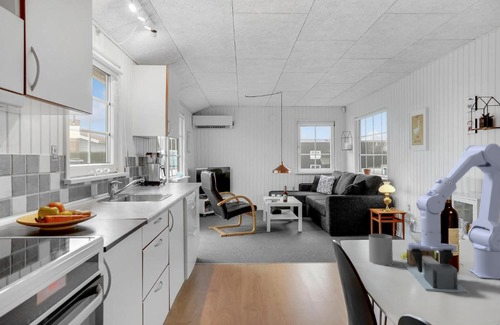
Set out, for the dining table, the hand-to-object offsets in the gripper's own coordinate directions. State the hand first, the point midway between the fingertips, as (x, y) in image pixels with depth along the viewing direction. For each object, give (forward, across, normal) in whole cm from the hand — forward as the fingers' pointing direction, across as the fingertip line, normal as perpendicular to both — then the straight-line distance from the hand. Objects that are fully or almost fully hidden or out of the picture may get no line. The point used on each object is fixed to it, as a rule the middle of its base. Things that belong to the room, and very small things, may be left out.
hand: (431, 272), depth 105 cm
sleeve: (+2, 0, -8) cm, 8 cm away
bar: (+1, 0, -2) cm, 2 cm away
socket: (+2, 0, +11) cm, 11 cm away
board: (+2, 0, 0) cm, 2 cm away
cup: (+2, -13, +16) cm, 20 cm away
